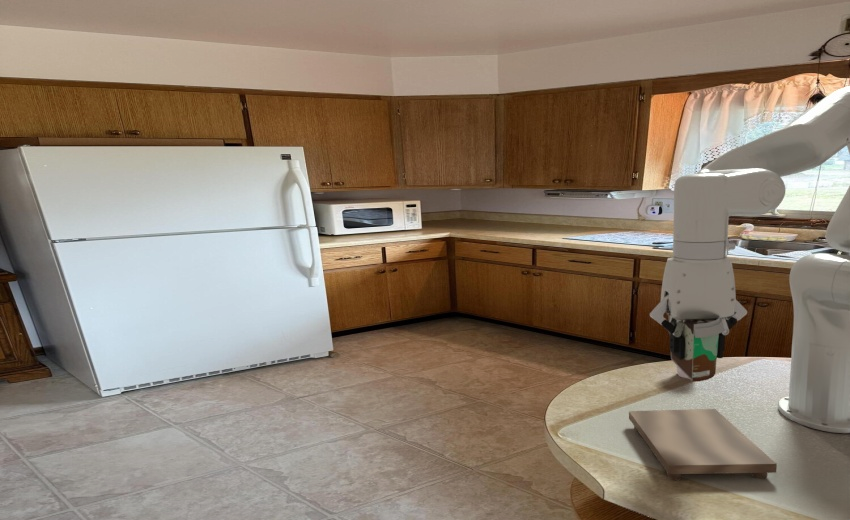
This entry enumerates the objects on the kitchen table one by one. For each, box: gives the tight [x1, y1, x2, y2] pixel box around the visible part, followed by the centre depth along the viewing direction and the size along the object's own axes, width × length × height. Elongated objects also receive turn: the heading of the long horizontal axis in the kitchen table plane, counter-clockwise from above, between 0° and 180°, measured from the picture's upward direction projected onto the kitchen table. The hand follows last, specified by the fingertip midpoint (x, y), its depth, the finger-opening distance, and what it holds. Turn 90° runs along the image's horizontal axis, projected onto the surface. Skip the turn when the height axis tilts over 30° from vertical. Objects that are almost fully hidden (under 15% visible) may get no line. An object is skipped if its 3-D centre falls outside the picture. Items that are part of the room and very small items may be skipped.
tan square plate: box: [628, 408, 778, 481], centre depth 78 cm, size 16×17×3 cm
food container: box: [666, 313, 724, 383], centre depth 75 cm, size 12×6×10 cm, turn 170°
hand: (696, 354), depth 75 cm, fingers closed on food container, 5 cm apart
